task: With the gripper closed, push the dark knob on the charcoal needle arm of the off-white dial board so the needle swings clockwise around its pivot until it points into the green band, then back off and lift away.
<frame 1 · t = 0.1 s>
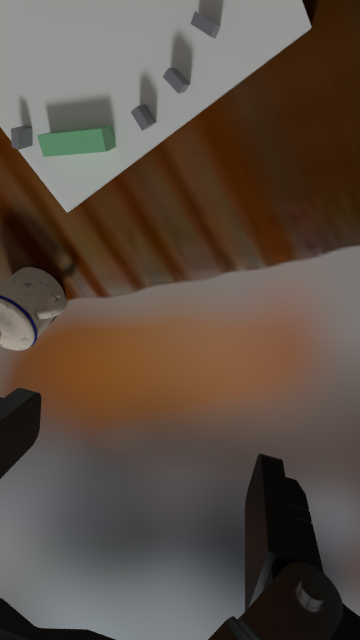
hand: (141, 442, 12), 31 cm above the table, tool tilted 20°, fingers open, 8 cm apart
teacup with lid: (49, 289, 51), on the table
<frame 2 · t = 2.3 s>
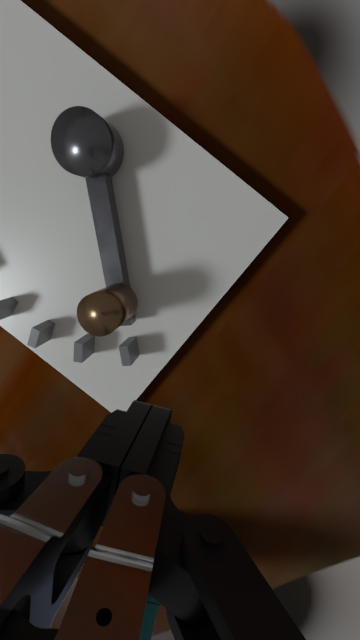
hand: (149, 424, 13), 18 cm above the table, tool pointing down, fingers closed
beverage bottle: (148, 530, 38), on the table
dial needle: (97, 228, 25), point 5 cm above the table, hinge at 45.0°
dial board: (107, 156, 28), on the table
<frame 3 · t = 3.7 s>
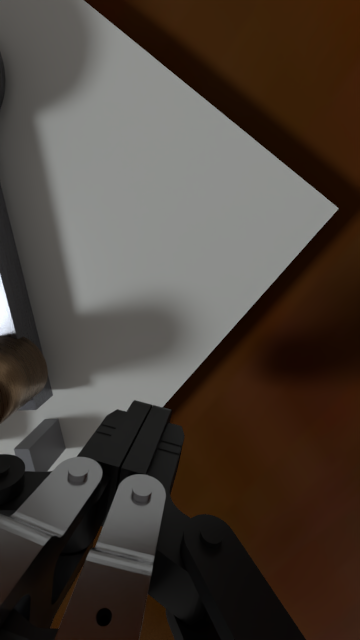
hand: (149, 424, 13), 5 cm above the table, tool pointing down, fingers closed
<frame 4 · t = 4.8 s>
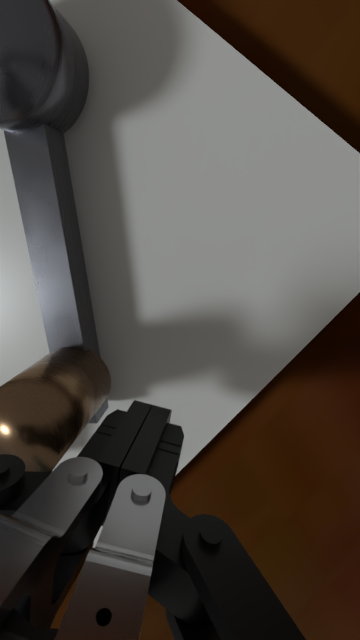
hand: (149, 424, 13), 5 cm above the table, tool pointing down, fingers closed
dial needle: (23, 239, 12), point 5 cm above the table, hinge at 42.6°, touching gripper
dial board: (60, 96, 15), on the table
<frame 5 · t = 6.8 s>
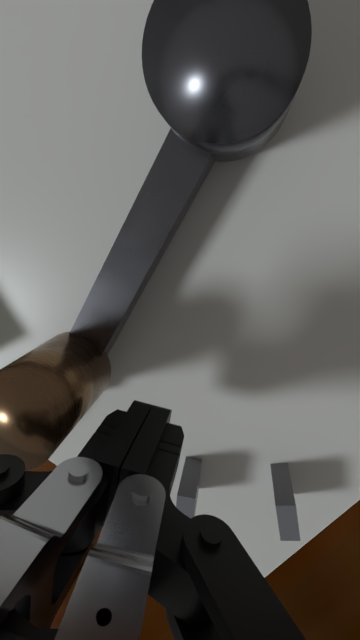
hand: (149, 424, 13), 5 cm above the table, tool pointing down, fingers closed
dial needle: (125, 246, 11), point 5 cm above the table, hinge at 3.4°, touching gripper
dial board: (229, 110, 13), on the table
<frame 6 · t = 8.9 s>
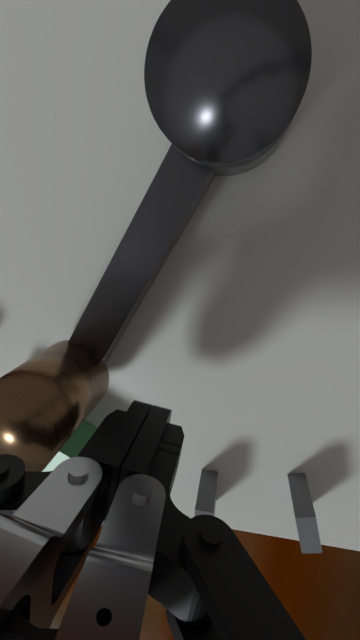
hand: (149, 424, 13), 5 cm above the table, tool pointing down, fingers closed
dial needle: (125, 259, 11), point 5 cm above the table, hinge at -30.2°
dial board: (230, 124, 14), on the table
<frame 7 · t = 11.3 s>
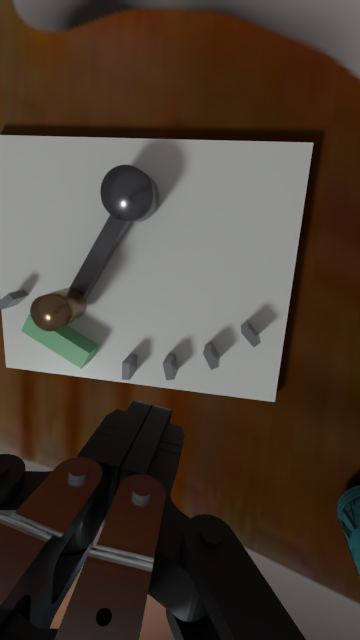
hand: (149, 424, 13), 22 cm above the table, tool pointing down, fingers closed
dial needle: (93, 252, 30), point 5 cm above the table, hinge at -30.2°
dial board: (141, 199, 32), on the table
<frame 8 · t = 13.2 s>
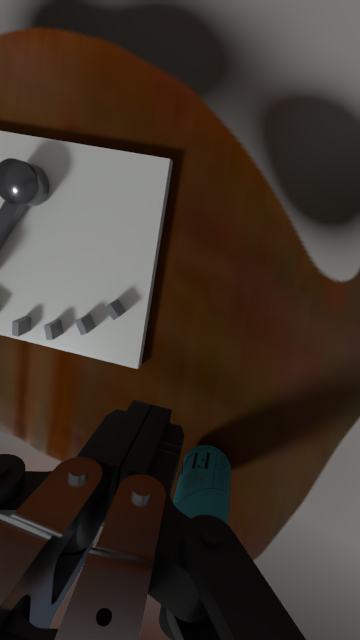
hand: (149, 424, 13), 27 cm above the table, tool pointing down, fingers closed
beverage bottle: (208, 456, 45), on the table
dial board: (41, 187, 39), on the table
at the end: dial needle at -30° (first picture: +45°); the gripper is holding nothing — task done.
